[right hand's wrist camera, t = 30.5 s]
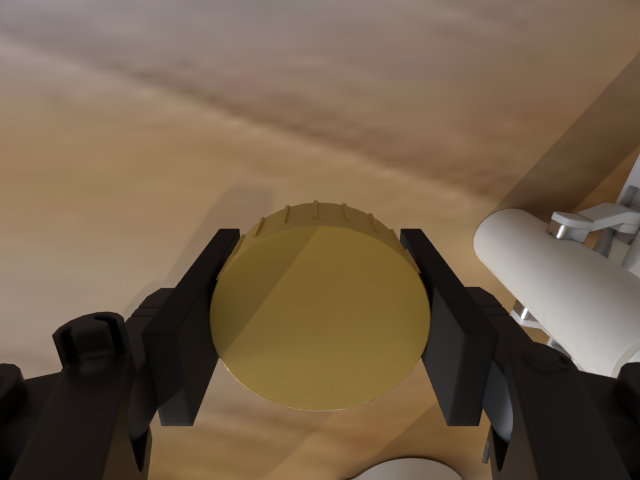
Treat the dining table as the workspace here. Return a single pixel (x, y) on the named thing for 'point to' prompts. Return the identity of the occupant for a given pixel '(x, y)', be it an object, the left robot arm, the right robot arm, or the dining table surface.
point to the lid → (320, 308)
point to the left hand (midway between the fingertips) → (534, 270)
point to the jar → (565, 289)
